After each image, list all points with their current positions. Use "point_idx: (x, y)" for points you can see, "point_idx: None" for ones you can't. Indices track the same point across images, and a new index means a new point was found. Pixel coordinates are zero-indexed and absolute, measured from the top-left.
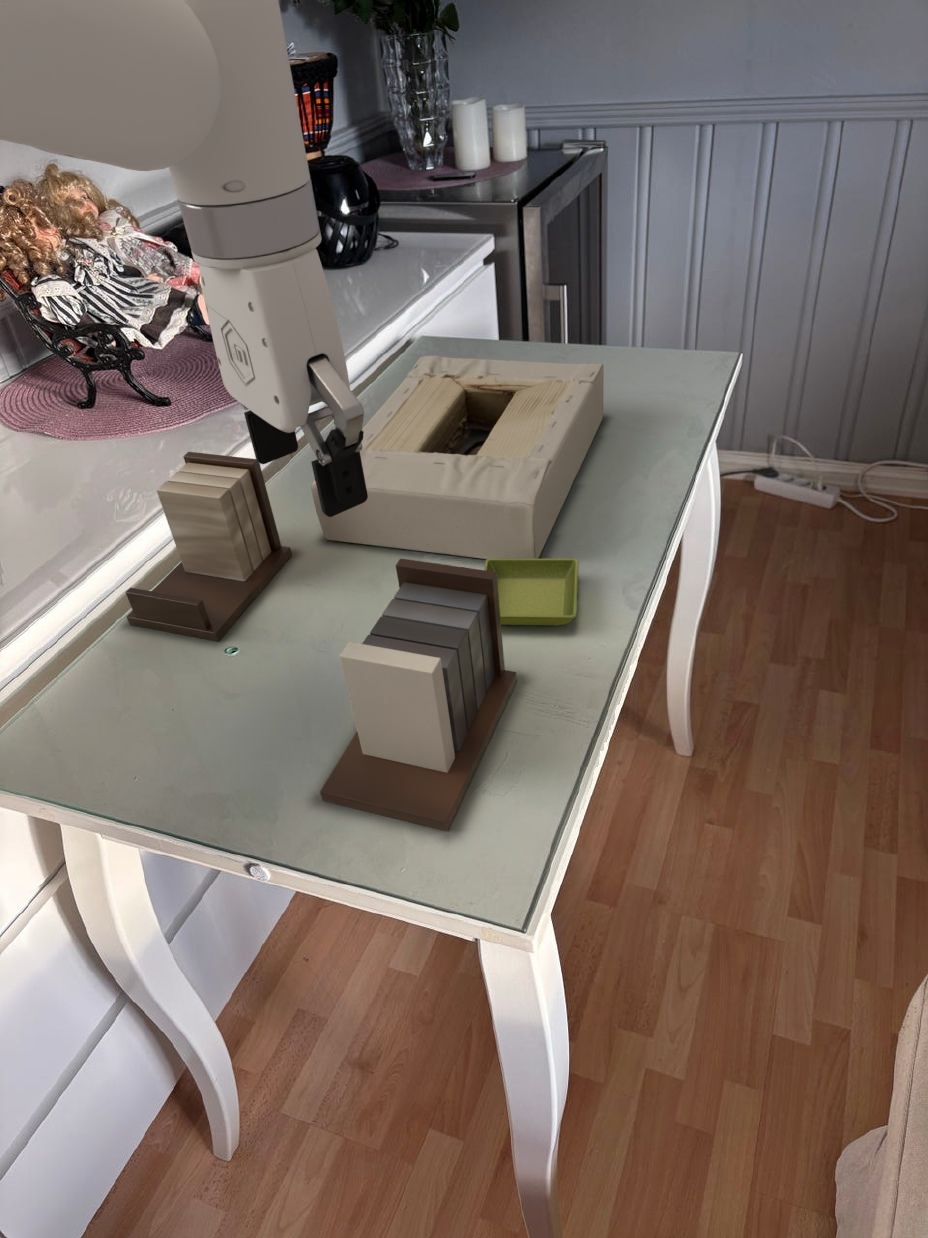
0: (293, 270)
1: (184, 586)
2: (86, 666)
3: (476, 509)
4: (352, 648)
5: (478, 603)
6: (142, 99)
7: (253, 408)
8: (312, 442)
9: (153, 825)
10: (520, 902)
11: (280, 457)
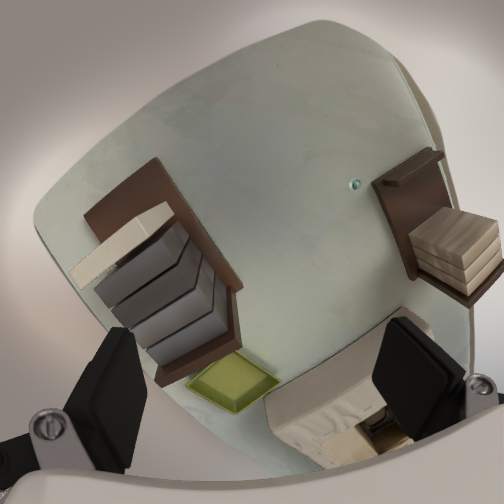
0: None
1: (432, 196)
2: (406, 102)
3: (309, 405)
4: (136, 233)
5: (154, 356)
6: None
7: (335, 496)
8: (62, 455)
9: (224, 58)
10: (36, 220)
11: (379, 350)
